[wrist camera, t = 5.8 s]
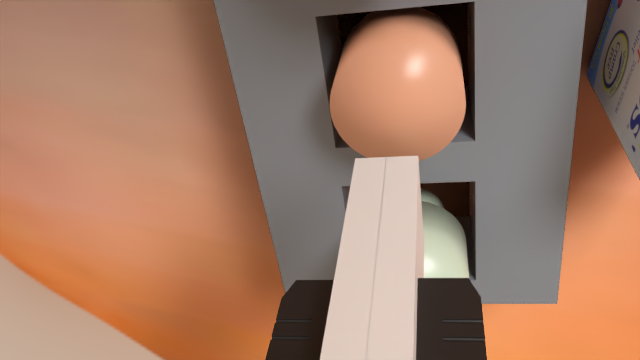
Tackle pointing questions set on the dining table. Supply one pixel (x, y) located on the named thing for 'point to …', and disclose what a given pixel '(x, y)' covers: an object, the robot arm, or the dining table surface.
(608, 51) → the medicine box
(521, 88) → the grey slotted tray
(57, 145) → the dining table surface
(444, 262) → the pale green egg
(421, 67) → the peach egg
